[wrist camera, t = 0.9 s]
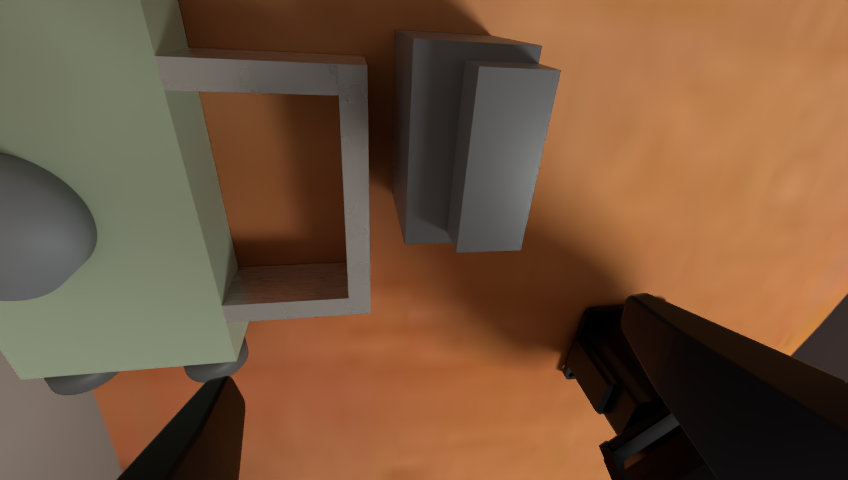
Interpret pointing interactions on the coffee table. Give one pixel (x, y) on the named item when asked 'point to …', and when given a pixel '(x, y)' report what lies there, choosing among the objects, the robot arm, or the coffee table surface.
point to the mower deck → (107, 200)
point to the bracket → (347, 78)
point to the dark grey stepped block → (468, 137)
